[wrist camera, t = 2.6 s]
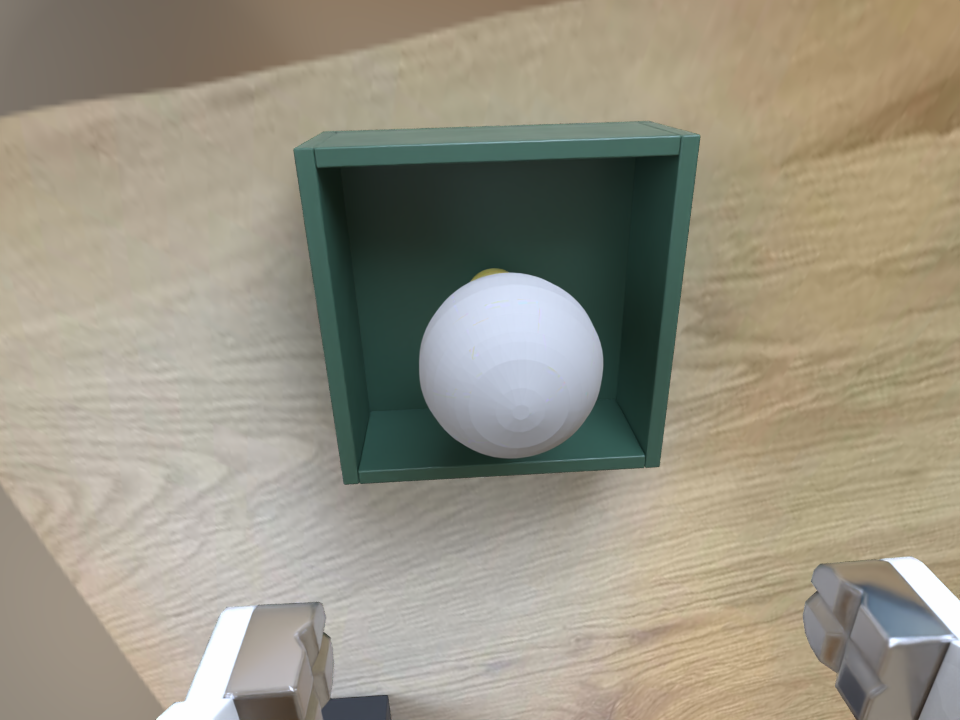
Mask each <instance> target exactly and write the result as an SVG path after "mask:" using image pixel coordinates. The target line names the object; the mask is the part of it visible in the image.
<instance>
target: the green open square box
mask: <svg viewBox="0 0 960 720" xmlns="http://www.w3.org/2000/svg"><path fill="white" fill-rule="evenodd" d="M699 143H700V135H699V134H695V133H692V132H688V131H684V130H680V129H677V128H673V127H669V126H665V125H662V124H658V123H654V122H651V121H636V122H606V123H575V124H544V125H513V126H482V127H452V128H421V129H390V130H359V131H328V132H322V133H321V134H319V135H317V136H315V137H313V138H312V139H310V140H308V141H306V142H305V143H303V144H301V145H299V146H298V147H296V148H294V150H293V151H294V157H295V164H296V171H297V177H298V184H299V191H300V197H301V204H302V210H303V217H304V224H305V230H306V237H307V244H308V250H309V257H310V264H311V270H312V277H313V284H314V290H315V297H316V303H317V310H318V317H319V323H320V330H321V337H322V343H323V350H324V357H325V363H326V370H327V377H328V383H329V390H330V396H331V403H332V410H333V416H334V423H335V430H336V436H337V443H338V450H339V456H340V463H341V470H342V476H343V483H344V484H345V485H348V484H359V482H360V484H366V483H384V482H402V481H420V480H437V479H455V478H473V477H491V476H509V475H527V474H545V473H562V472H580V471H598V470H616V469H634V468H644V466H645V467H646V468H651V467H659V466H660V458H661V450H662V442H663V434H664V426H665V418H666V410H667V402H668V394H669V386H670V378H671V370H672V361H673V353H674V345H675V337H676V329H677V321H678V313H679V305H680V297H681V289H682V281H683V273H684V265H685V256H686V248H687V240H688V232H689V224H690V216H691V208H692V200H693V192H694V184H695V176H696V168H697V159H698V151H699ZM491 268H499V269H503V270H505V271H507V272H509V273H522V274H528V275H532V276H535V277H539V278H541V279H544V280H546V281H548V282H550V283H552V284H554V285H556V286H558V287H560V288H561V289H563V290H564V291H566V292H567V293H568V294H570V295H571V296H572V297H573V298H574V299H575V300H576V301H577V302H578V303H579V304H580V305H581V306H582V308H583V309H584V310H585V312H586V313H587V315H588V316H589V318H590V320H591V322H592V324H593V326H594V328H595V331H596V333H597V335H598V337H599V340H600V343H601V347H602V353H603V374H602V380H601V386H600V391H599V394H598V397H597V400H596V402H595V405H594V407H593V409H592V410H591V412H590V414H589V415H588V417H587V418H586V420H585V421H584V423H583V424H582V425H581V426H580V428H579V429H578V430H577V431H576V432H575V433H574V434H573V435H572V436H571V437H569V438H568V439H567V440H566V441H564V442H563V443H561V444H560V445H558V446H556V447H555V448H553V449H550V450H548V451H546V452H543V453H541V454H537V455H534V456H529V457H523V458H498V457H493V456H488V455H485V454H482V453H479V452H477V451H474V450H472V449H470V448H468V447H467V446H465V445H463V444H462V443H460V442H459V441H457V440H456V439H454V438H453V437H452V436H451V435H450V434H448V433H447V432H446V431H445V430H444V428H443V427H442V426H441V425H440V424H439V422H438V421H437V419H436V418H435V417H434V415H433V414H432V412H431V411H430V409H429V407H428V405H427V403H426V401H425V399H424V396H423V393H422V389H421V385H420V376H419V356H420V347H421V342H422V339H423V335H424V333H425V330H426V328H427V326H428V324H429V322H430V320H431V319H432V317H433V316H434V314H435V313H436V311H437V310H438V309H439V307H440V306H441V305H442V304H443V303H444V301H445V300H446V299H447V298H448V297H449V296H450V295H451V294H453V293H454V292H455V291H456V290H458V289H459V288H461V287H462V286H464V285H466V284H467V283H469V282H470V281H471V280H472V279H473V277H474V276H476V275H477V274H478V273H480V272H481V271H483V270H486V269H491Z"/></svg>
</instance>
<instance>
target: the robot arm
mask: <svg viewBox="0 0 960 720" xmlns="http://www.w3.org/2000/svg"><path fill="white" fill-rule="evenodd" d="M811 582H812V584H813V585H814V587H815V588H816V589H817V591H816V592H815V593H814V594H813V595H812V596H811V597H810V598H809V599H808V600H807V601H806V602H805V607H804V612H803V622H804V629H805V634H806V637H807V639H808V642H809V644H810V647H811V648H812V650H813V652H814V653H815V655H816V657H817V658H818V660H819V661H820V662H821V663H823V664H824V665H826V666H827V667H829V668H830V669H832V670H833V671H835V672H836V673H837V674H836V683H835V687H836V689H837V690H838V692H839V693H840V695H841V696H842V698H843V699H844V701H845V703H846V704H847V706H848V707H849V709H850V710H851V712H852V714H853V715H854V717H855V718H856V720H960V601H959V600H958V599H957V598H956V597H955V596H954V595H953V594H952V593H951V592H950V591H949V590H948V589H947V588H946V586H945V585H944V584H943V583H942V582H941V581H940V580H939V579H938V578H937V577H936V576H935V575H934V574H933V573H932V572H931V571H930V570H929V569H928V568H927V567H926V566H925V565H924V564H923V563H922V562H921V561H919V560H918V559H916V558H914V557H912V556H910V557H898V558H886V559H879V560H877V559H871V560H860V561H848V562H837V563H825V564H819V565H818V566H817V567H816V568H815V570H814V572H813V576H812V579H811ZM325 622H326V615H325V611H324V607H323V603H320V602H308V603H287V604H267V605H257V606H237V607H226V608H225V610H224V611H223V612H222V613H221V614H220V616H219V617H218V620H217V622H216V625H215V627H214V630H213V632H212V635H211V637H210V639H209V642H208V644H207V647H206V649H205V652H204V654H203V657H202V659H201V661H200V664H199V666H198V669H197V671H196V674H195V676H194V679H193V681H192V683H191V686H190V688H189V691H188V693H187V696H186V698H185V701H184V702H174V703H173V704H172V705H171V706H170V707H169V708H168V709H167V710H166V711H164V712H163V713H162V714H161V715H160V716H159V717H158V718H157V719H156V720H323V717H322V712H321V710H322V708H323V707H324V706H325V705H326V704H327V703H328V701H329V700H330V696H331V690H332V684H333V668H334V659H333V647H332V642H331V637H329V636H328V635H327V634H325V633H324V627H325Z"/></svg>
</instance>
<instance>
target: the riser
mask: <svg viewBox="0 0 960 720" xmlns="http://www.w3.org/2000/svg"><path fill="white" fill-rule="evenodd" d="M321 712H322V717H323V720H391V714H390V707H389V699H388V695H382V696H368V697H354V698H339V699H330V700H329V701H328V703H327V704H326V705H325V706H324V707H323V708H322V710H321Z"/></svg>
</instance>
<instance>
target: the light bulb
mask: <svg viewBox="0 0 960 720" xmlns="http://www.w3.org/2000/svg"><path fill="white" fill-rule="evenodd" d="M602 374H603V353H602V347H601V343H600V340H599V337H598V335H597V333H596V331H595V328H594V326H593V324H592V322H591V320H590V318H589V316H588V315H587V313H586V312H585V310H584V309H583V308H582V306H581V305H580V304H579V303H578V302H577V301H576V300H575V299H574V298H573V297H572V296H571V295H570V294H568V293H567V292H566V291H564V290H563V289H561V288H560V287H558V286H556V285H554V284H552V283H550V282H548V281H546V280H544V279H541V278H539V277H535V276H532V275H528V274H522V273H509V272H507V271H505V270H503V269H499V268H491V269H486V270H483V271H481V272H480V273H478V274H477V275H476V276H474V277H473V279H472V280H471V281H470V282H469V283H467V284H466V285H464V286H462V287H461V288H459V289H458V290H456V291H455V292H454V293H453V294H451V295H450V296H449V297H448V298H447V299H446V300H445V301H444V303H443V304H442V305H441V306H440V307H439V309H438V310H437V311H436V313H435V314H434V316H433V317H432V319H431V320H430V322H429V324H428V326H427V328H426V330H425V333H424V335H423V339H422V342H421V347H420V356H419V376H420V385H421V389H422V393H423V396H424V399H425V401H426V403H427V405H428V407H429V409H430V411H431V412H432V414H433V415H434V417H435V418H436V419H437V421H438V422H439V424H440V425H441V426H442V427H443V428H444V430H445V431H446V432H447V433H448V434H450V435H451V436H452V437H453V438H454V439H456V440H457V441H459V442H460V443H462V444H463V445H465V446H467V447H468V448H470V449H472V450H474V451H477V452H479V453H482V454H485V455H488V456H493V457H498V458H523V457H529V456H534V455H537V454H541V453H543V452H546V451H548V450H550V449H553V448H555V447H556V446H558V445H560V444H561V443H563V442H564V441H566V440H567V439H568V438H569V437H571V436H572V435H573V434H574V433H575V432H576V431H577V430H578V429H579V428H580V426H581V425H582V424H583V423H584V421H585V420H586V418H587V417H588V415H589V414H590V412H591V410H592V409H593V407H594V405H595V402H596V400H597V397H598V394H599V391H600V386H601V380H602Z"/></svg>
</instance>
